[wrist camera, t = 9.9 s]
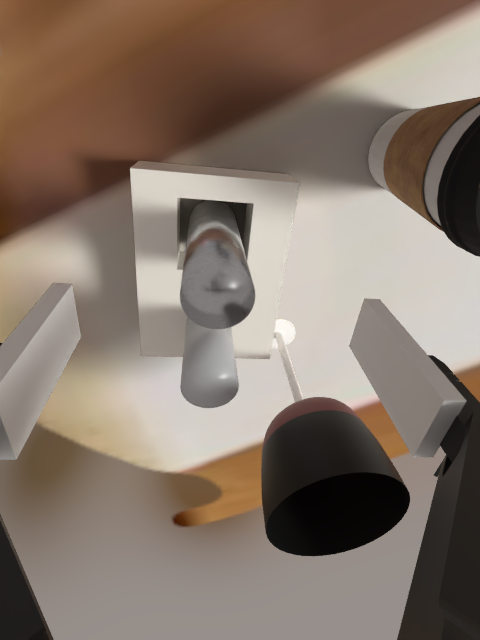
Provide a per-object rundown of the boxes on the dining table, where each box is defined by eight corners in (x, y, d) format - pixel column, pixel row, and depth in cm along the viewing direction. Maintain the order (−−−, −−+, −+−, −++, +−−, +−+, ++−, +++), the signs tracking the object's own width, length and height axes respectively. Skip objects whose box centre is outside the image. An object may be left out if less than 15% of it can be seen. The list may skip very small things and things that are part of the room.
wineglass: (222, 335, 37) (236, 527, 20) (285, 281, 35) (362, 450, 18) (271, 375, 41) (318, 568, 24) (331, 328, 38) (434, 509, 21)
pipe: (190, 197, 29) (180, 259, 17) (237, 201, 30) (259, 264, 18) (189, 244, 31) (179, 328, 19) (233, 246, 32) (250, 330, 20)
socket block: (139, 160, 28) (100, 192, 17) (288, 174, 29) (334, 210, 19) (147, 332, 36) (123, 422, 25) (263, 335, 37) (286, 422, 27)
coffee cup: (348, 209, 31) (449, 280, 18) (357, 95, 27) (500, 84, 14) (441, 199, 31) (605, 263, 19) (466, 85, 27) (703, 66, 14)
